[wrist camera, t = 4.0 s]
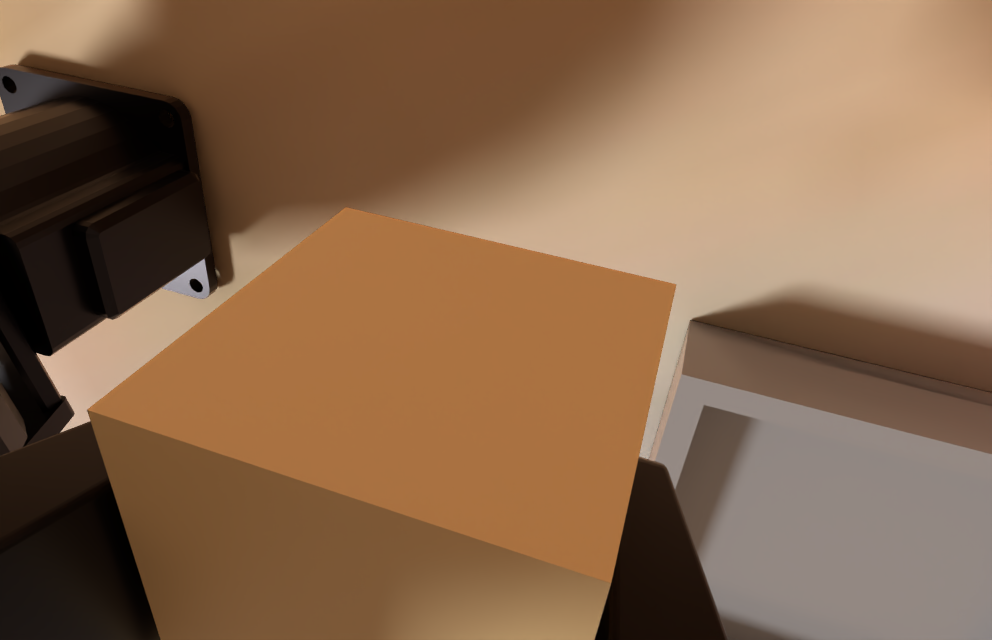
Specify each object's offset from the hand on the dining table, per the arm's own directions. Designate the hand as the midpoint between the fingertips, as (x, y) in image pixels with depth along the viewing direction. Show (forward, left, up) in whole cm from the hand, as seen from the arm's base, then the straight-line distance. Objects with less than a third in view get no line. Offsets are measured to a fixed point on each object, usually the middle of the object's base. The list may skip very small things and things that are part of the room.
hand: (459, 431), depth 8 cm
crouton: (0, 0, -1) cm, 1 cm away
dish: (+9, -10, -11) cm, 17 cm away
